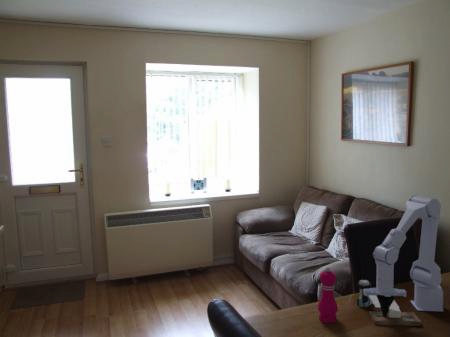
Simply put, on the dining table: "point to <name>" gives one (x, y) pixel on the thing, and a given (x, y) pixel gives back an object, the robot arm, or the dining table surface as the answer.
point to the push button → (363, 299)
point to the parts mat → (377, 304)
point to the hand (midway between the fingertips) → (384, 314)
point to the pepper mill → (327, 297)
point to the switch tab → (394, 312)
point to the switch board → (395, 319)
